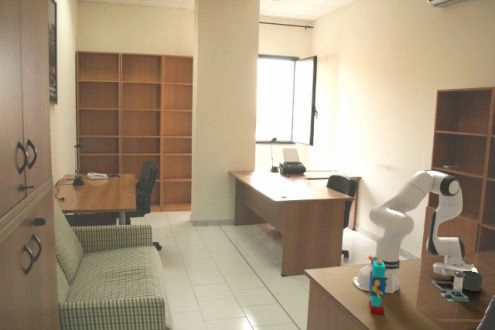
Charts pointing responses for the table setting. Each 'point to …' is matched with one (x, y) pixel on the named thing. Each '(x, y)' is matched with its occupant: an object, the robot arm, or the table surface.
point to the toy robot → (377, 287)
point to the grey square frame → (442, 283)
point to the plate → (451, 297)
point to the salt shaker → (458, 283)
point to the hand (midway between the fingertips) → (456, 276)
